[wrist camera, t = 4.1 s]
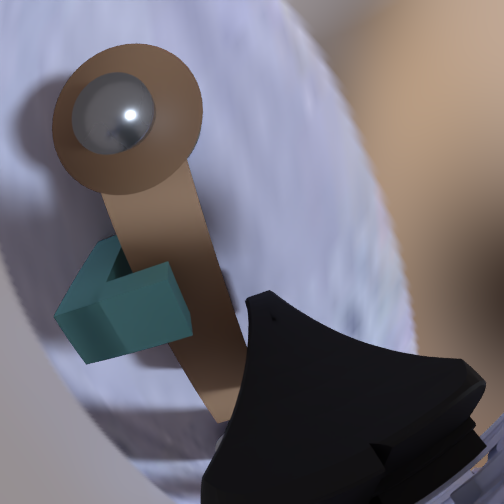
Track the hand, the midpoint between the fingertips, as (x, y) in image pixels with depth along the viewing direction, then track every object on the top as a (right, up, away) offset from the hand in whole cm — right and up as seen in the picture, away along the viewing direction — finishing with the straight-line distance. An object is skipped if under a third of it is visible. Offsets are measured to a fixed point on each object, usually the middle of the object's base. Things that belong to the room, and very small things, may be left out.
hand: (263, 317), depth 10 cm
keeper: (-4, +2, -1) cm, 5 cm away
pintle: (-4, +6, -2) cm, 7 cm away
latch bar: (-3, +2, -1) cm, 4 cm away
